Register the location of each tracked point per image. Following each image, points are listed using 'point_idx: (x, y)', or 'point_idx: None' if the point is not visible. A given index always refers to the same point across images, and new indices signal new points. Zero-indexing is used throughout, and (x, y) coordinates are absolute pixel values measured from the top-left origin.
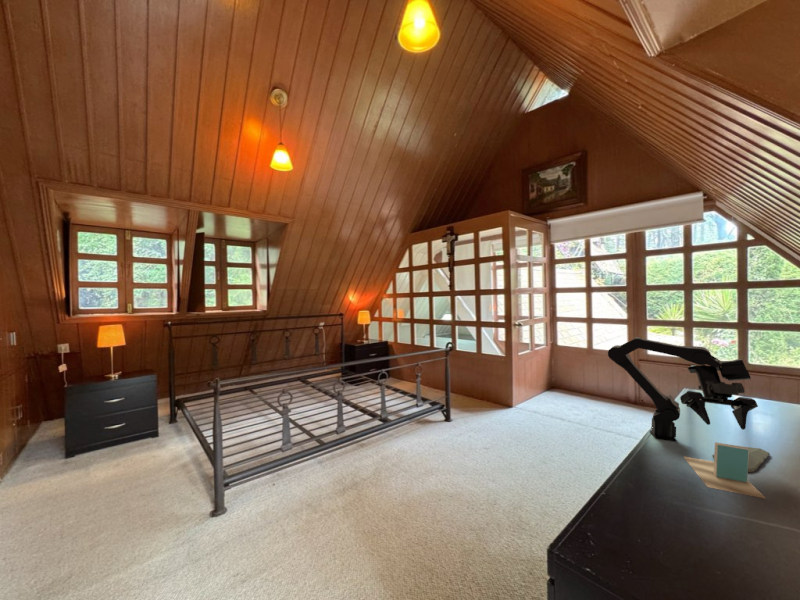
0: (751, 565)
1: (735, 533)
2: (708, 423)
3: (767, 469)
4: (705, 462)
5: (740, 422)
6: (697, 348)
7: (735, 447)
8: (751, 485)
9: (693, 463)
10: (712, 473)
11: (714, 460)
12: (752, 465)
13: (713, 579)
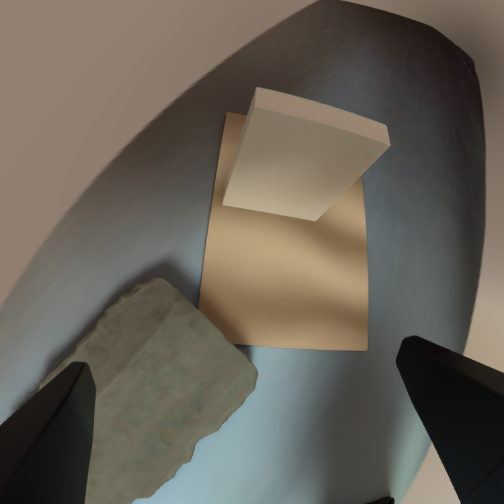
0: (348, 15)
1: (347, 43)
2: (415, 340)
3: (52, 349)
4: (303, 322)
5: (73, 441)
6: None
7: (313, 102)
8: (222, 171)
9: (353, 292)
10: (316, 226)
11: (342, 191)
12: (121, 311)
13: (384, 16)
